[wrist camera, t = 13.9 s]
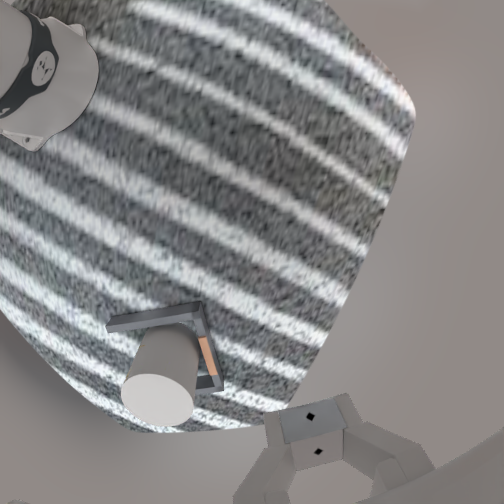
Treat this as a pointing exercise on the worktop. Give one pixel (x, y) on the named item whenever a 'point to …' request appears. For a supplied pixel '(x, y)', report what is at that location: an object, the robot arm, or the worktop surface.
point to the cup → (163, 376)
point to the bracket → (175, 315)
